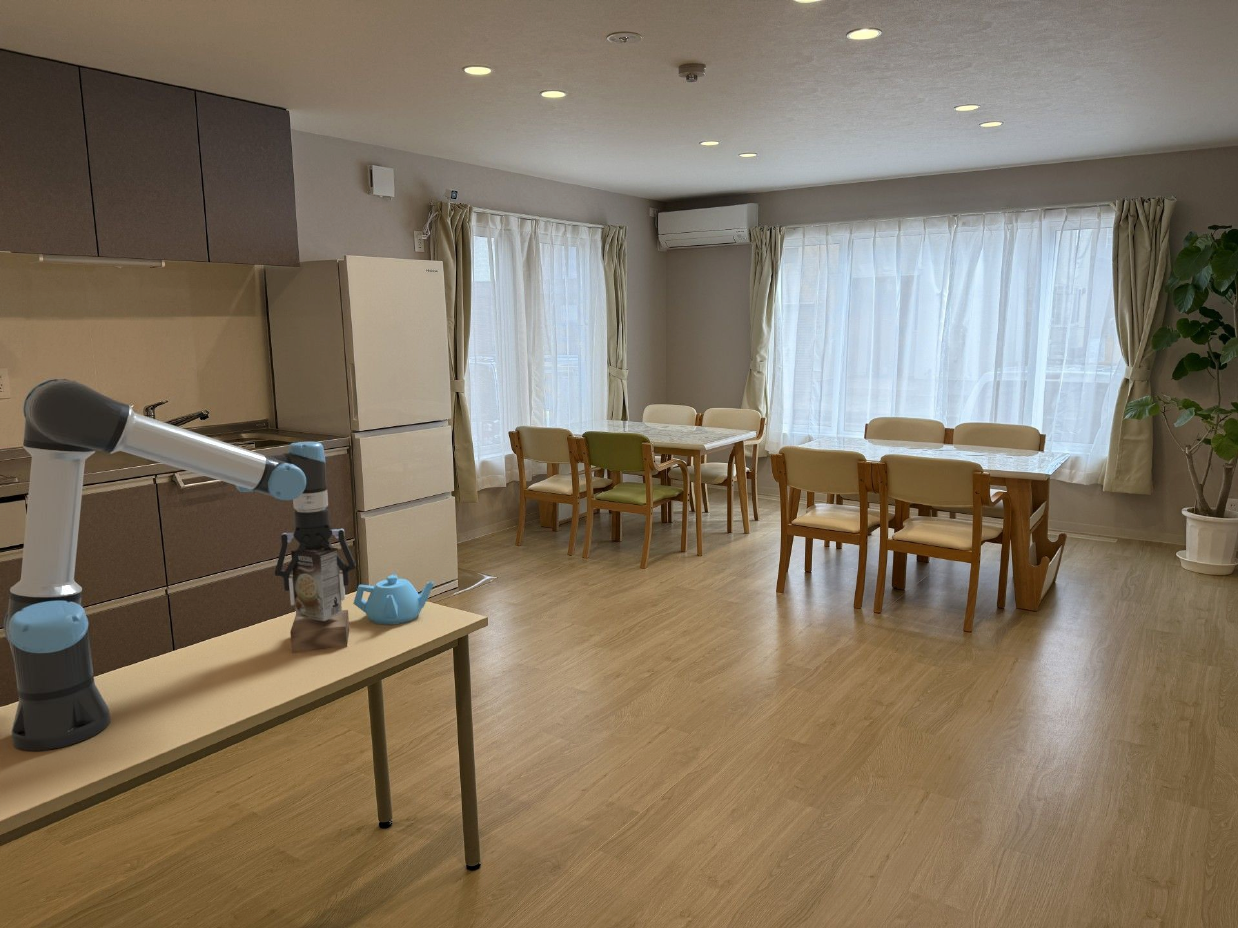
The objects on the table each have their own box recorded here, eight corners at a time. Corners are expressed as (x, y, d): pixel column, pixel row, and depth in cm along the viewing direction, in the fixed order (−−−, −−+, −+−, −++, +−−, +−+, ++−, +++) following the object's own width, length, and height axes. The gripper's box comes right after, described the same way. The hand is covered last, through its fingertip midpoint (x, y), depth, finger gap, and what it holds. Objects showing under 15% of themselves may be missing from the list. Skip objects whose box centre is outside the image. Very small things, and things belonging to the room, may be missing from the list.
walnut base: (292, 652, 192) (290, 631, 191) (297, 634, 203) (295, 614, 203) (347, 646, 195) (345, 626, 194) (349, 629, 207) (348, 609, 206)
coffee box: (294, 616, 197) (288, 550, 195) (314, 608, 203) (309, 543, 200) (324, 621, 193) (319, 554, 191) (344, 613, 199) (339, 547, 197)
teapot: (398, 603, 226) (395, 564, 224) (437, 613, 217) (435, 572, 216) (351, 620, 213) (348, 579, 212) (391, 631, 205) (388, 588, 203)
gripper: (255, 515, 188) (263, 611, 191) (362, 508, 193) (368, 601, 197) (260, 509, 195) (268, 600, 198) (363, 502, 201) (369, 591, 204)
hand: (318, 601), depth 198 cm, fingers closed on coffee box, 10 cm apart
